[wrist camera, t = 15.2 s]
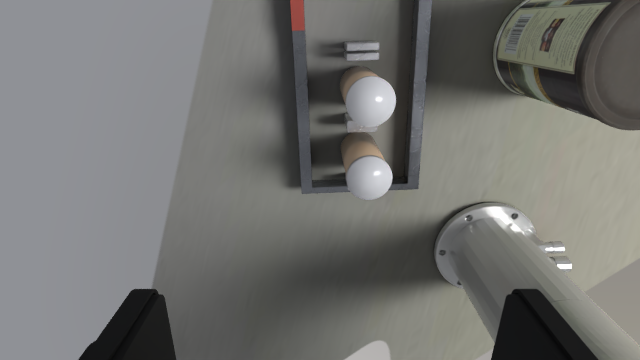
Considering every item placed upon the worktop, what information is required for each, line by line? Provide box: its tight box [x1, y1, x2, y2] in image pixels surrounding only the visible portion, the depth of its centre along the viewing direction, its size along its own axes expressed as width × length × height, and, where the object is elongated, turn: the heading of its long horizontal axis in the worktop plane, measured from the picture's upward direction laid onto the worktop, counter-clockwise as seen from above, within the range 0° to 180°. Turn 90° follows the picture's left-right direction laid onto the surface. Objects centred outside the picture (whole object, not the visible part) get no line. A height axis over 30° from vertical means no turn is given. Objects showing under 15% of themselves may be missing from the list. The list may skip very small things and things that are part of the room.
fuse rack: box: [290, 0, 432, 194], centre depth 38 cm, size 13×24×4 cm, turn 2°
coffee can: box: [493, 0, 640, 130], centre depth 32 cm, size 10×10×14 cm
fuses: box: [340, 66, 396, 200], centre depth 37 cm, size 4×11×9 cm, turn 2°
